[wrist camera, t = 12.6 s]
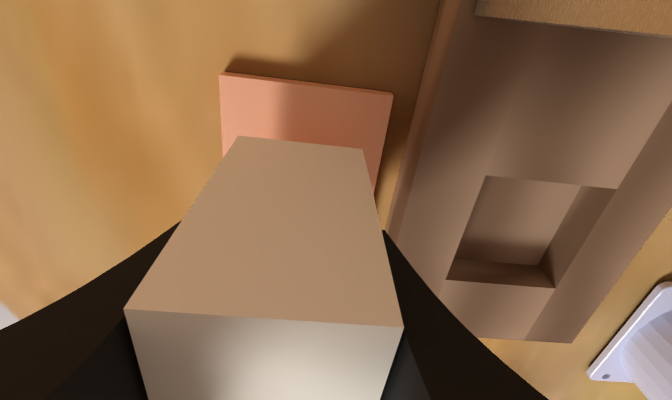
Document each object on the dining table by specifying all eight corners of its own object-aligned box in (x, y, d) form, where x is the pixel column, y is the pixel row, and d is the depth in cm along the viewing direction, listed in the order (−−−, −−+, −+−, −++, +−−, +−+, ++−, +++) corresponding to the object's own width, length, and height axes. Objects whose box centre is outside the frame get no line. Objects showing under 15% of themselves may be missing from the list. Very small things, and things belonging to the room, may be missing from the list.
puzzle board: (898, -239, 9) (1043, -301, 7) (548, 311, 19) (571, 343, 17) (519, -329, 8) (575, -422, 6) (368, 298, 18) (372, 330, 16)
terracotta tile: (391, 92, 12) (393, 96, 12) (360, 243, 16) (361, 252, 15) (223, 71, 12) (218, 74, 11) (230, 232, 15) (226, 240, 15)
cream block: (362, 149, 11) (403, 327, 5) (345, 245, 13) (361, 456, 7) (238, 135, 11) (123, 308, 5) (240, 236, 13) (162, 448, 7)
